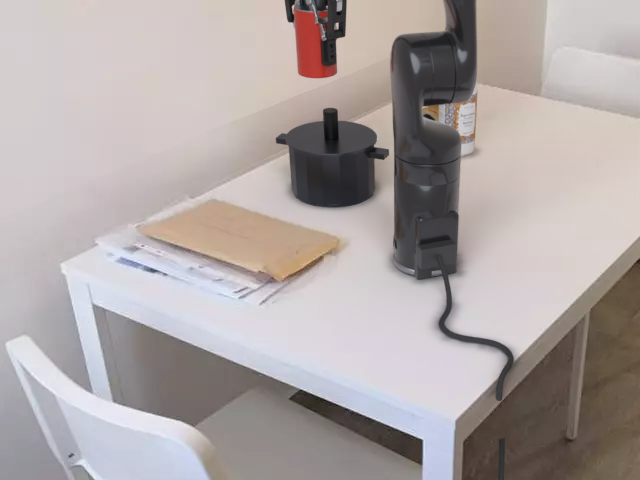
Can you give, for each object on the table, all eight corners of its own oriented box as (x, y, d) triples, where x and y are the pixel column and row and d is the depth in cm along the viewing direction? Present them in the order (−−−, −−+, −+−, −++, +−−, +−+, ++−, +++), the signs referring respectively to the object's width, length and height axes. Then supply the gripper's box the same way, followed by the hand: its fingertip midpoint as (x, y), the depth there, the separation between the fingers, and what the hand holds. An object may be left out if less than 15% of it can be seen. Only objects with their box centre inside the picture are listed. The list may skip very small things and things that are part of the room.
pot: (371, 215, 143) (370, 163, 138) (263, 197, 147) (258, 146, 142) (401, 182, 154) (401, 133, 149) (299, 166, 158) (296, 117, 153)
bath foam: (451, 160, 163) (454, 51, 152) (430, 147, 167) (433, 40, 156) (481, 152, 166) (487, 45, 155) (461, 140, 171) (465, 35, 160)
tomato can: (342, 76, 134) (340, 9, 129) (304, 80, 132) (300, 12, 126) (330, 64, 138) (327, 0, 133) (293, 68, 136) (288, 3, 131)
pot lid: (356, 166, 138) (355, 132, 135) (270, 152, 142) (267, 119, 138) (390, 133, 150) (389, 101, 147) (309, 121, 154) (307, 90, 150)
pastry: (438, 113, 183) (439, 95, 181) (466, 120, 180) (467, 102, 178) (412, 125, 177) (413, 107, 174) (440, 133, 174) (441, 115, 171)
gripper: (262, -65, 127) (271, 52, 137) (315, -49, 118) (322, 76, 127) (306, -70, 131) (312, 44, 141) (361, -54, 122) (364, 67, 132)
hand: (317, 59), depth 134 cm, fingers closed on tomato can, 6 cm apart
